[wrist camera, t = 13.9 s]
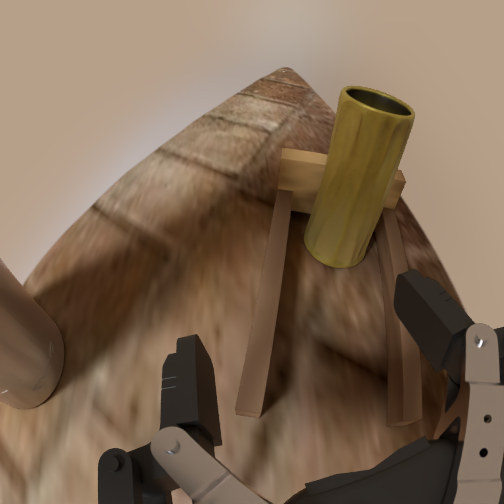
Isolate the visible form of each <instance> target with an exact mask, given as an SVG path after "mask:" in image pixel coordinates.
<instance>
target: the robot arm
mask: <svg viewBox="0 0 504 504" xmlns="http://www.w3.org/2000/svg"><path fill="white" fill-rule="evenodd" d="M393 305H394V310H395V313H396V315H397V316H398V318H399V319H400V321H401V322H402V323H403V325H404V326H405V328H406V329H407V331H408V332H409V333H410V335H411V336H412V338H413V339H414V341H415V342H416V343H417V345H418V346H419V348H420V349H421V351H422V352H423V354H424V355H425V357H426V358H427V360H428V361H429V363H430V364H431V366H432V367H433V369H434V370H435V372H436V373H437V372H439V371H441V370H443V369H444V368H445V369H446V371H447V375H446V381H445V390H444V398H443V405H442V411H441V416H440V420H439V422H438V424H437V427H436V430H435V433H434V437H433V440H428V441H427V439H426V437H425V436H423V437H422V438H420V439H418V440H416V441H414V442H412V443H410V444H408V445H406V446H404V447H402V448H400V449H398V450H397V451H396V452H394V453H393V454H392V455H390V456H389V457H388V458H386V459H385V460H384V461H382V462H381V463H380V464H378V465H377V466H375V467H374V468H372V469H370V470H364V471H358V472H350V473H342V474H336V475H333V476H329V477H326V478H323V479H320V480H316V481H313V482H309V483H306V484H305V486H306V488H305V489H303V490H301V491H299V492H298V493H296V494H295V495H293V496H292V497H291V498H289V499H288V500H287V501H286V502H285V503H284V504H504V459H503V452H504V327H501V328H497V329H492V328H491V327H490V326H488V325H486V324H482V323H478V324H475V323H474V322H473V321H472V319H471V318H470V317H469V316H468V315H467V314H466V313H465V311H464V310H463V309H462V308H461V307H460V306H459V305H458V304H457V302H456V301H455V300H454V299H452V297H451V296H450V295H449V294H448V293H446V290H445V289H444V288H443V287H442V286H441V285H440V284H439V283H438V282H436V281H434V280H432V279H430V278H429V277H426V278H424V277H423V276H422V275H421V274H420V273H419V272H418V271H417V270H416V269H412V270H409V271H406V272H404V273H401V274H398V275H397V277H396V285H395V294H394V302H393ZM63 364H64V343H63V339H62V334H61V332H60V330H59V328H58V326H57V325H56V323H55V322H54V321H53V319H52V318H51V317H50V316H49V315H48V314H47V313H46V312H45V311H44V310H43V309H42V308H41V307H40V306H39V305H38V304H37V302H36V301H35V300H34V299H33V298H32V297H31V296H30V294H29V293H28V292H27V291H26V290H25V289H24V287H23V286H22V285H21V284H20V283H19V281H18V280H17V279H16V278H15V277H14V275H13V274H12V273H11V272H10V270H9V269H8V268H7V266H6V265H5V264H4V263H3V261H2V260H1V259H0V401H1V402H3V403H6V404H8V405H10V406H12V407H15V408H17V409H30V408H34V407H36V406H38V405H40V404H41V403H43V402H44V401H45V400H46V399H47V398H48V397H49V396H50V395H51V393H52V392H53V391H54V389H55V388H56V385H57V383H58V381H59V379H60V376H61V373H62V369H63ZM162 379H163V380H162V390H161V424H160V430H159V431H158V432H157V433H156V434H155V436H154V437H153V439H152V441H151V442H150V443H149V444H147V445H145V446H143V447H140V448H137V449H135V450H132V451H130V452H125V451H124V450H122V449H119V448H112V449H109V450H107V451H106V452H104V453H103V454H102V456H101V457H100V460H99V463H98V504H173V503H172V495H171V491H173V490H175V489H178V488H182V489H183V491H184V492H185V493H186V494H187V495H188V496H189V497H190V498H191V499H192V501H193V502H192V503H193V504H273V503H272V502H270V501H269V500H267V499H266V498H265V497H263V496H262V495H261V494H259V493H258V492H256V491H255V490H254V489H252V488H251V487H250V486H248V485H247V484H246V483H245V482H243V481H242V480H241V479H240V478H238V477H237V476H236V475H235V474H234V473H232V472H231V471H230V470H229V469H228V468H226V467H225V466H224V465H223V464H222V463H221V462H220V461H218V460H217V459H216V458H215V453H214V446H220V445H222V439H221V431H220V422H219V414H218V405H217V395H216V385H215V375H214V368H213V364H212V361H211V359H210V357H209V355H208V353H207V351H206V349H205V347H204V345H203V344H202V342H201V340H200V338H199V336H198V335H197V334H195V335H191V336H187V337H182V338H178V339H177V350H176V353H173V354H169V355H168V356H167V358H166V360H165V362H164V364H163V369H162Z"/></svg>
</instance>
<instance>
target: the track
mask: <svg viewBox="0 0 504 504" xmlns="http://www.w3.org/2000/svg"><path fill="white" fill-rule="evenodd" d="M327 156H328V155H326V154H320V153H314V152H308V151H302V150H295V149H288V148H283V149H282V154H281V161H280V170H279V180H278V189H277V194H276V200H275V206H274V211H273V217H272V222H271V227H270V233H269V238H268V244H267V249H266V254H265V260H264V265H263V270H262V276H261V281H260V286H259V291H258V297H257V302H256V307H255V312H254V317H253V322H252V327H251V333H250V338H249V343H248V348H247V353H246V358H245V363H244V368H243V373H242V378H241V382H240V387H239V392H238V397H237V402H236V407H235V411H236V415H242V416H248V417H254V418H259V417H260V414H261V411H262V406H263V400H264V394H265V388H266V382H267V376H268V370H269V364H270V358H271V352H272V345H273V339H274V332H275V326H276V319H277V312H278V305H279V298H280V291H281V284H282V276H283V269H284V261H285V254H286V246H287V238H288V230H289V221H290V213H291V211H297V212H304V213H310V214H311V212H312V209H313V206H314V203H315V200H316V197H317V194H318V191H319V188H320V185H321V181H322V178H323V175H324V171H325V165H326V160H327ZM405 183H406V181H405V178H404V176H403V173H402V171H401V170H397V172H396V175H395V178H394V181H393V183H392V186H391V189H390V192H389V194H388V197H387V199H386V202H385V204H384V207H383V210H382V212H381V215H380V217H379V220H378V222H377V224H376V226H375V229H374V230H375V236H376V242H377V249H378V256H379V263H380V271H381V279H382V288H383V298H384V309H385V322H386V339H387V371H388V394H387V425H386V426H404V425H407V424H410V423H413V422H416V421H419V420H421V419H422V379H421V362H420V349H419V346H418V345H417V343H416V342H415V341H414V339H413V338H412V336H411V335H410V333H409V332H408V331H407V329H406V328H405V326H404V325H403V323H402V322H401V321H400V319H399V318H398V316H397V315H396V313H395V310H394V305H393V302H394V294H395V285H396V277H397V275H398V274H401V273H404V272H406V271H408V266H407V261H406V256H405V251H404V247H403V242H402V238H401V234H400V230H399V226H398V222H397V218H396V214H395V210H394V209H395V207H396V204H397V202H398V200H399V197H400V195H401V193H402V190H403V188H404V185H405Z"/></svg>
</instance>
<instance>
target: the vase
mask: <svg viewBox="0 0 504 504" xmlns="http://www.w3.org/2000/svg"><path fill="white" fill-rule="evenodd" d="M414 118H415V112H414V111H413V109H412V108H411V107H410V106H409V105H407V104H406V103H404V102H403V101H401V100H399V99H397V98H395V97H393V96H391V95H389V94H386V93H384V92H381V91H378V90H375V89H371V88H366V87H361V86H347V87H344V88H343V89H342V90H341V93H340V97H339V102H338V108H337V113H336V118H335V123H334V129H333V133H332V138H331V142H330V147H329V151H328V156H327V160H326V165H325V171H324V175H323V178H322V181H321V185H320V188H319V191H318V194H317V197H316V200H315V203H314V206H313V209H312V212H311V215H310V218H309V221H308V225H307V227H306V229H305V233H304V243H305V246H306V248H307V249H308V251H309V252H310V253H311V255H312V256H313V257H314V258H315V259H317V260H318V261H319V262H321V263H323V264H325V265H327V266H330V267H335V268H349V267H352V266H355V265H356V264H358V263H360V262H361V261H362V260H363V258H364V256H365V253H366V249H367V246H368V244H369V241H370V239H371V236H372V233H373V231H374V229H375V226H376V224H377V222H378V220H379V217H380V215H381V212H382V210H383V207H384V204H385V202H386V199H387V197H388V194H389V192H390V189H391V186H392V183H393V181H394V178H395V175H396V172H397V169H398V166H399V163H400V160H401V157H402V154H403V152H404V149H405V146H406V143H407V140H408V138H409V134H410V132H411V129H412V126H413V122H414Z"/></svg>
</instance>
